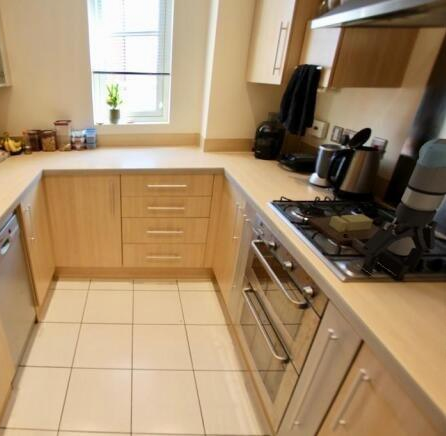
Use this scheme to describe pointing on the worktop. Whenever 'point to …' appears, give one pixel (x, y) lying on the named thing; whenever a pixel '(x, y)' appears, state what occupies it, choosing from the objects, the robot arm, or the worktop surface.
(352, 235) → the board
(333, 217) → the butter slice
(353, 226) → the butter
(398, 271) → the knife
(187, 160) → the worktop surface
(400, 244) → the can
